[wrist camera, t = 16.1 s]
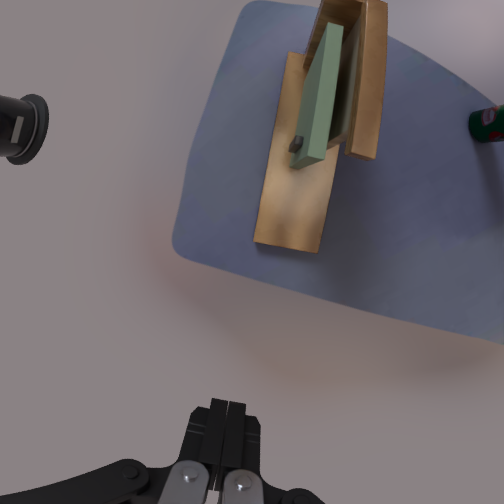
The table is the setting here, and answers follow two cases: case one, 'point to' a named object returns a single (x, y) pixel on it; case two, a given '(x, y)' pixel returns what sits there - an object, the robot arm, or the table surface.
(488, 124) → the soda can
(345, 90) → the door frame
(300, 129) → the door
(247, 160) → the table surface
